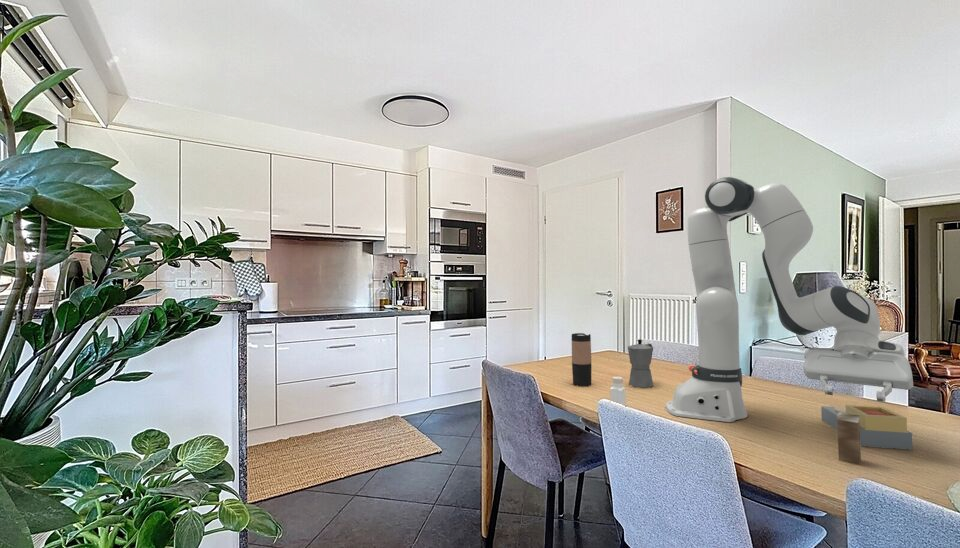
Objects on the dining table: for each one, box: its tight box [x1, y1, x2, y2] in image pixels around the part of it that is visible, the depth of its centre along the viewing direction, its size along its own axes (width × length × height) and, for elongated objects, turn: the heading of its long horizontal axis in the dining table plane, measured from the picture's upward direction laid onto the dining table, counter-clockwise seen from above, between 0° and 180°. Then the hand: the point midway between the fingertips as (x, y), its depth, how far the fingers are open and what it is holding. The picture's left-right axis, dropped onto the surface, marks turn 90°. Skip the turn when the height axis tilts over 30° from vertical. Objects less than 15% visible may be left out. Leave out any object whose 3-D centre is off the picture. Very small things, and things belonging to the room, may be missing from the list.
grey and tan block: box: [820, 404, 914, 451], centre depth 112 cm, size 10×20×8 cm, turn 164°
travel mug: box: [571, 332, 592, 387], centre depth 170 cm, size 8×8×20 cm
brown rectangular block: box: [837, 412, 862, 466], centre depth 96 cm, size 4×4×10 cm
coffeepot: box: [627, 338, 654, 389], centre depth 168 cm, size 15×9×18 cm, turn 128°
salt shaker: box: [609, 376, 627, 407], centre depth 140 cm, size 4×4×10 cm
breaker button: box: [864, 411, 886, 416], centre depth 107 cm, size 4×4×5 cm
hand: (853, 396), depth 102 cm, fingers open, 8 cm apart
